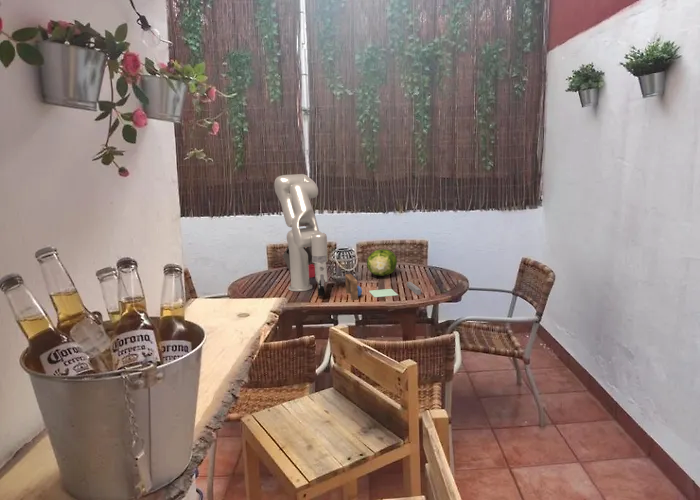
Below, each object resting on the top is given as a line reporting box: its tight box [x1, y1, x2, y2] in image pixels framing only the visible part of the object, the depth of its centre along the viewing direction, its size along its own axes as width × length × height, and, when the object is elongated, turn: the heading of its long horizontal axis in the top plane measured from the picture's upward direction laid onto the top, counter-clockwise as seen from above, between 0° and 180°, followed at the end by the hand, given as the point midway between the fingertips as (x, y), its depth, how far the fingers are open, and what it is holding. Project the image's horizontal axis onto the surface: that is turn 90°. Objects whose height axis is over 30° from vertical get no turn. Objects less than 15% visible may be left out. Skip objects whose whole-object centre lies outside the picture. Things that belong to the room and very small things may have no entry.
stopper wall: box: [406, 281, 422, 296], centre depth 266 cm, size 16×2×2 cm, turn 11°
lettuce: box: [366, 248, 398, 277], centre depth 295 cm, size 16×21×15 cm
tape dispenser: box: [308, 263, 315, 279], centre depth 306 cm, size 14×10×5 cm
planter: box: [282, 246, 314, 272], centre depth 319 cm, size 17×8×21 cm
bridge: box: [344, 273, 359, 301], centre depth 259 cm, size 3×15×9 cm, turn 11°
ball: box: [357, 285, 363, 297], centre depth 258 cm, size 6×6×6 cm
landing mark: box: [368, 288, 399, 298], centre depth 263 cm, size 12×12×1 cm
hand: (321, 295), depth 257 cm, fingers closed
